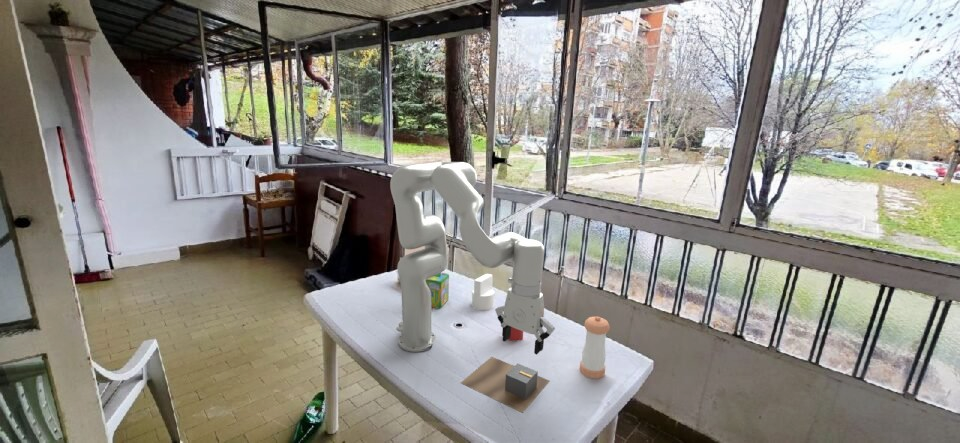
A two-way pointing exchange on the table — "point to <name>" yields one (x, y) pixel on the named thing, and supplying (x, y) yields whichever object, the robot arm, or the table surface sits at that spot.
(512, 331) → the beer can
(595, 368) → the pepper shaker
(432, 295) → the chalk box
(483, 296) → the cylinder with rectangular tab
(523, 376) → the grey cube with stripe
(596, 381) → the table surface
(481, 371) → the base plate
